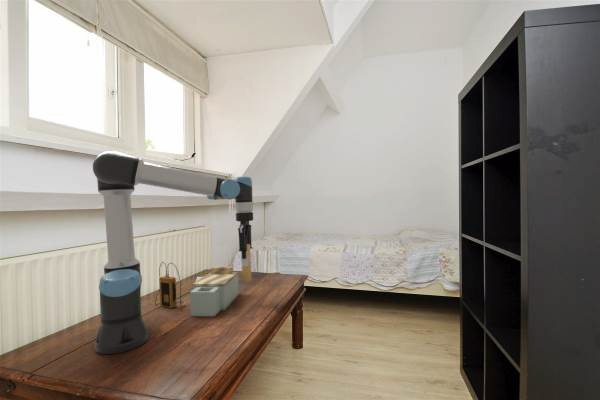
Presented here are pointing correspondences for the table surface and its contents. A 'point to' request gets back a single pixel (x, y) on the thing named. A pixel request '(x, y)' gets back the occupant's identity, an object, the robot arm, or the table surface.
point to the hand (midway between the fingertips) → (246, 264)
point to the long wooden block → (247, 268)
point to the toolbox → (212, 298)
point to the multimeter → (168, 290)
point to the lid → (217, 277)
